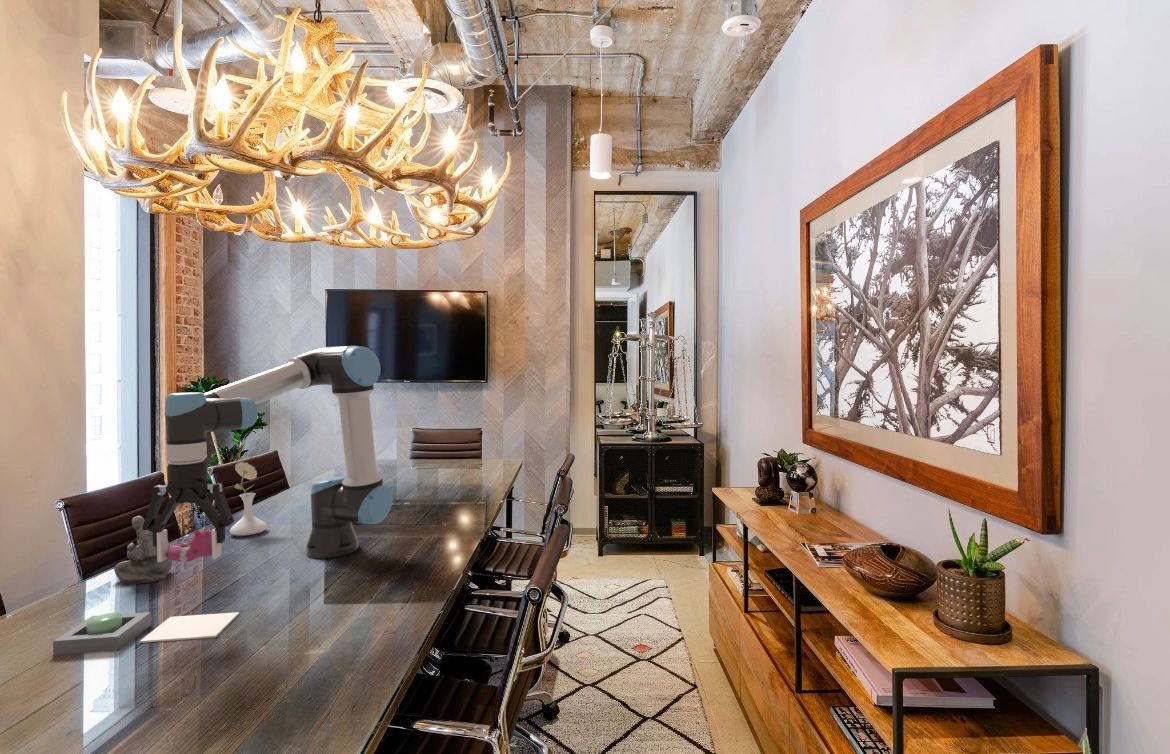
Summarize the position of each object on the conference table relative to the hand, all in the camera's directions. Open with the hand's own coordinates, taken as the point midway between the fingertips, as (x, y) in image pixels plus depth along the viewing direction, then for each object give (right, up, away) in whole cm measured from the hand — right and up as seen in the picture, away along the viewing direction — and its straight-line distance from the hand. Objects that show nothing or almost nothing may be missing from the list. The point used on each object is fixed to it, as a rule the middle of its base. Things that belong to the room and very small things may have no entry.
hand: (190, 558), depth 133 cm
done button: (-15, -14, -5) cm, 22 cm away
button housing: (-15, -16, -5) cm, 23 cm away
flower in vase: (-29, -14, +73) cm, 80 cm away
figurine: (-34, -15, +31) cm, 48 cm away
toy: (-1, 0, +3) cm, 3 cm away
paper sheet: (0, -16, 0) cm, 16 cm away
